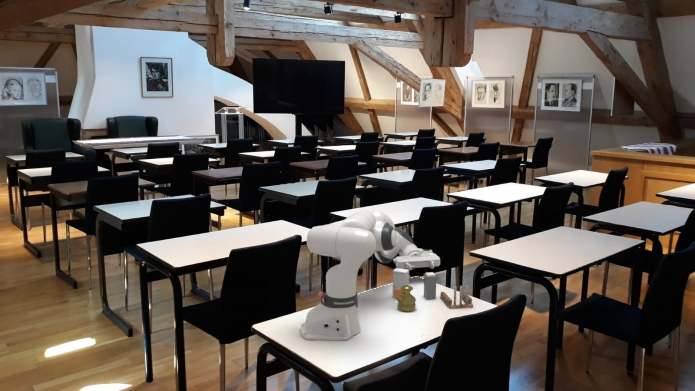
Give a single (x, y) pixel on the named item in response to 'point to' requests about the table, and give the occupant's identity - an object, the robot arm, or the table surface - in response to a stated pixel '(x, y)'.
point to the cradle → (448, 301)
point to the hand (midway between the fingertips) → (422, 267)
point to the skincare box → (399, 281)
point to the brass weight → (406, 299)
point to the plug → (430, 285)
